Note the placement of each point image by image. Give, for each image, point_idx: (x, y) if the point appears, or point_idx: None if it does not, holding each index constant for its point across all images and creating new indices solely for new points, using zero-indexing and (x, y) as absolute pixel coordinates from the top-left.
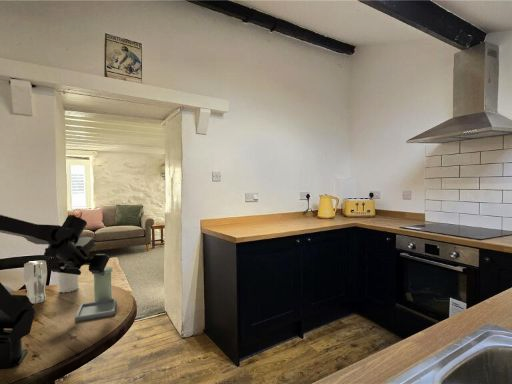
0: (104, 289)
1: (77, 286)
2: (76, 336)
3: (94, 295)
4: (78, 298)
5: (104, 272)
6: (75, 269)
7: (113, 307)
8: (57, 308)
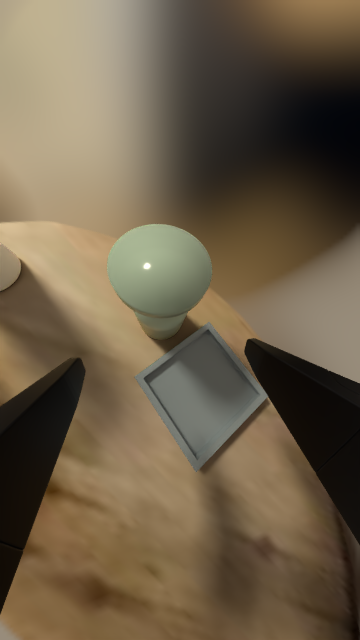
0: (182, 321)
1: (15, 261)
2: (268, 539)
3: (143, 329)
4: (76, 321)
5: (262, 344)
6: (37, 433)
7: (250, 377)
8: None
